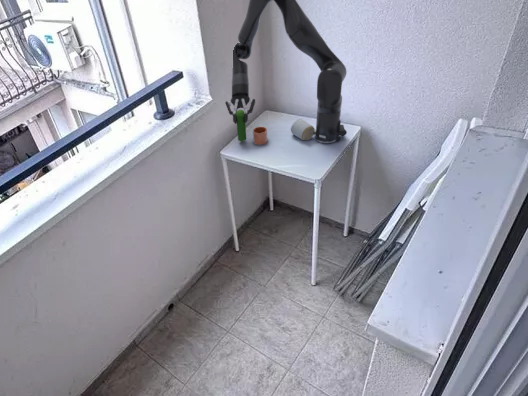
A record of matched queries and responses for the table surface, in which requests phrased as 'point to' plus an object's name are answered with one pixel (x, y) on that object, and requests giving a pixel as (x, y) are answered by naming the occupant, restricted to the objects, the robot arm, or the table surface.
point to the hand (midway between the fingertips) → (240, 122)
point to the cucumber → (241, 125)
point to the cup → (260, 135)
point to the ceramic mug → (302, 129)
